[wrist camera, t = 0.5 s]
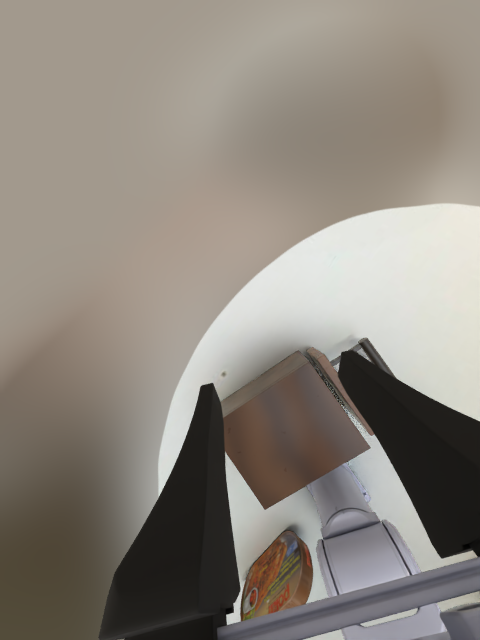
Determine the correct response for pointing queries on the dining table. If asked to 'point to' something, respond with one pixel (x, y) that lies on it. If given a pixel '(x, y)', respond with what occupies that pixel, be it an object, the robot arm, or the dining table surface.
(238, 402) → the cabinet
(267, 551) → the tin
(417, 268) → the dining table surface
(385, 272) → the dining table surface
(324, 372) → the drawer
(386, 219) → the dining table surface
